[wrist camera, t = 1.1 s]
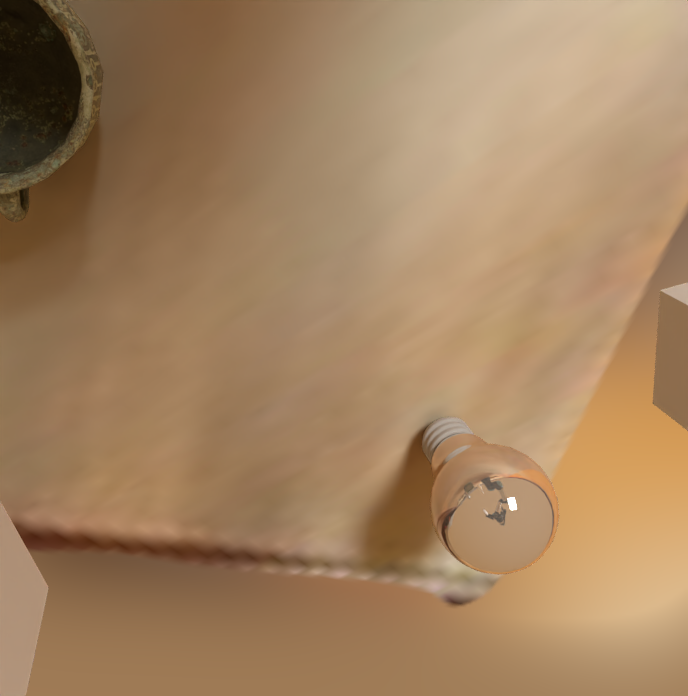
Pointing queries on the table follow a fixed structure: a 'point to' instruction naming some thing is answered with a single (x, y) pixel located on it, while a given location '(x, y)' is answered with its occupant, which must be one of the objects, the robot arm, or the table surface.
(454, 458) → the light bulb
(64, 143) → the vessel
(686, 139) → the table surface
